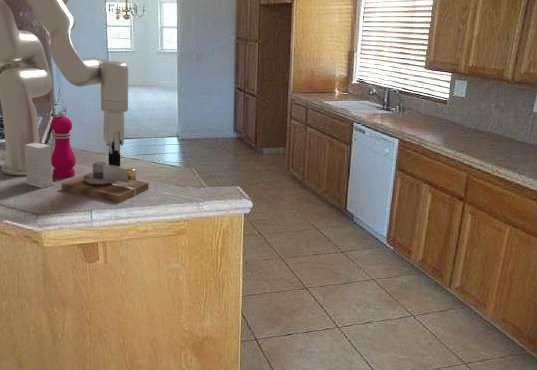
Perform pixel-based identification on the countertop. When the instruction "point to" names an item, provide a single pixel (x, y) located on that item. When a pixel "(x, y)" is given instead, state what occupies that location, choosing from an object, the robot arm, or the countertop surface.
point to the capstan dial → (109, 174)
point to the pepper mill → (62, 147)
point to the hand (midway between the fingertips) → (114, 165)
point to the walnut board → (106, 189)
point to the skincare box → (38, 165)
